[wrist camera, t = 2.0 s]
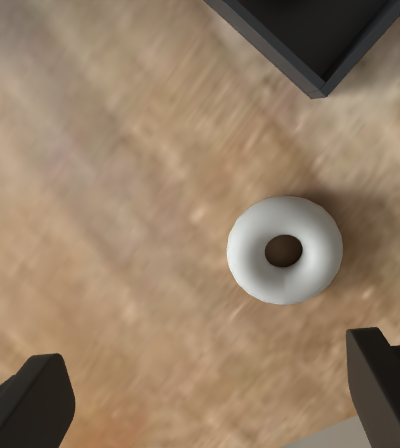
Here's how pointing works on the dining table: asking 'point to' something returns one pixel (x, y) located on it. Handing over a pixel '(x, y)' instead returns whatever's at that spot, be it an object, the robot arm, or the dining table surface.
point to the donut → (280, 225)
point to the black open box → (310, 35)
